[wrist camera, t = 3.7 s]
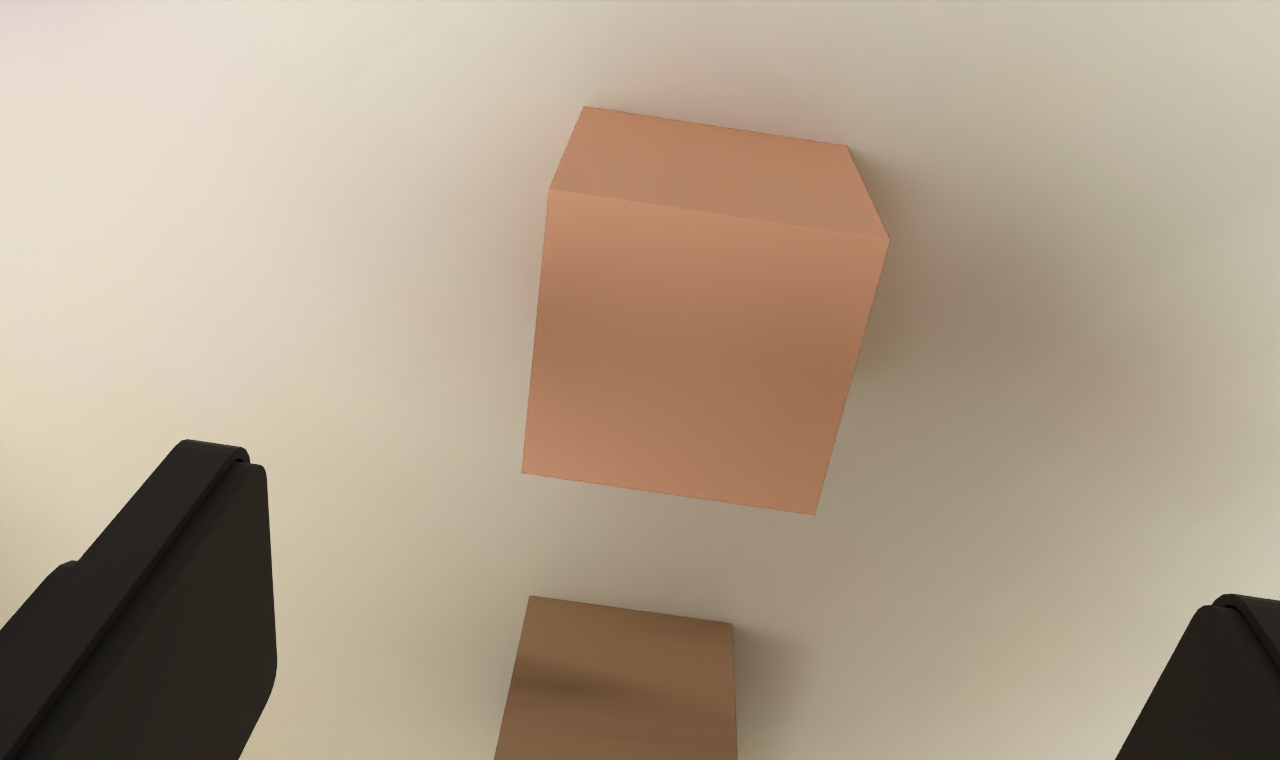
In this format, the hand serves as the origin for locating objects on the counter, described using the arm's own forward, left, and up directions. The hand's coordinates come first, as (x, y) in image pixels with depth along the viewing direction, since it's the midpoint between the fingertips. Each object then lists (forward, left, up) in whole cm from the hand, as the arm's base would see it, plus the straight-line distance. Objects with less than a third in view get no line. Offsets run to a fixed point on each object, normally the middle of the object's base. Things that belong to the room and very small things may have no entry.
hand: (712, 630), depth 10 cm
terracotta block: (0, 0, -11) cm, 11 cm away
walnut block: (-12, 0, -11) cm, 17 cm away
